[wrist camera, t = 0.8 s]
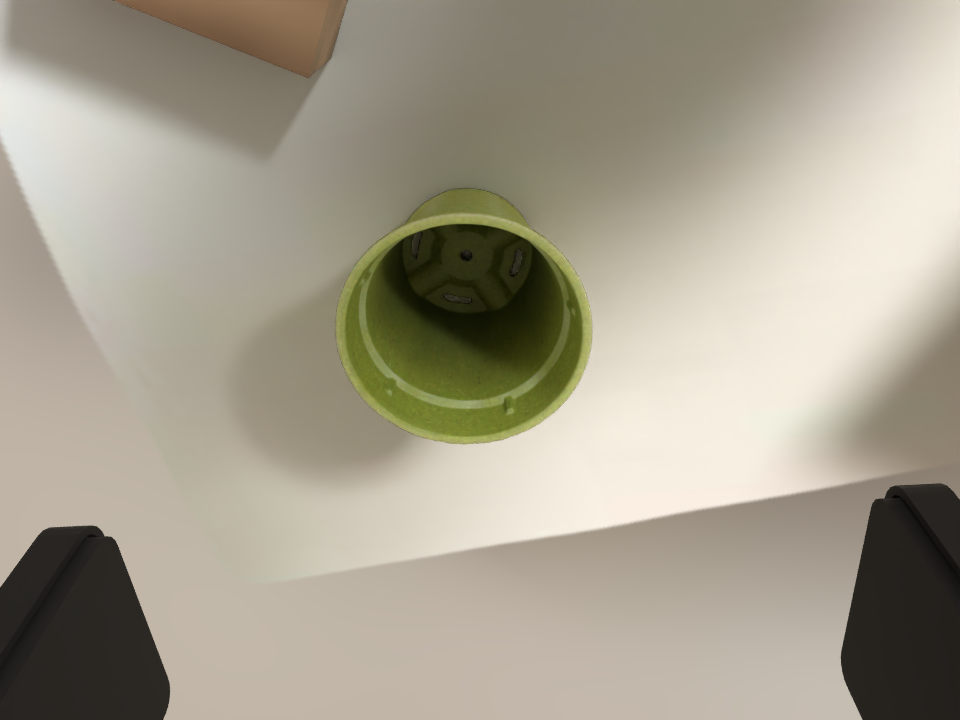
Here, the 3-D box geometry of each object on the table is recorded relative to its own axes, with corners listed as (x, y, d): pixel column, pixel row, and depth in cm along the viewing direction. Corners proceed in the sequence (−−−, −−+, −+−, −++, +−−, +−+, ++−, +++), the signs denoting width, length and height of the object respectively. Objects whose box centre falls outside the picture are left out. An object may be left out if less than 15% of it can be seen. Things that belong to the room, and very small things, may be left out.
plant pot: (592, 167, 35) (620, 237, 27) (548, 355, 39) (563, 460, 32) (377, 132, 34) (345, 193, 27) (358, 327, 39) (326, 427, 31)
